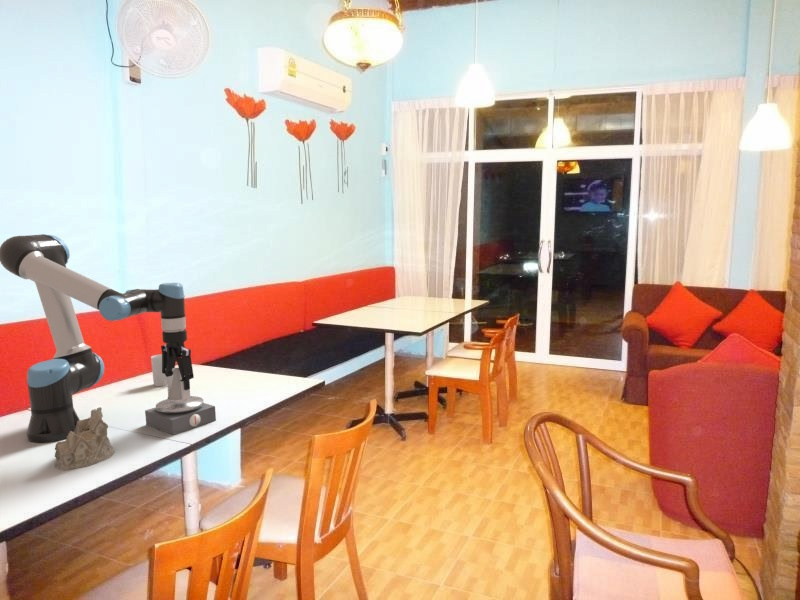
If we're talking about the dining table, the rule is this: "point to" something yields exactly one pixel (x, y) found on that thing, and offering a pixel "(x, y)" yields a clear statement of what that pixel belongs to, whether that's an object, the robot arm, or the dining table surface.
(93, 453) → the ceramic cottage
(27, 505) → the dining table surface
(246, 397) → the dining table surface
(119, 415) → the dining table surface
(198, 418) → the base
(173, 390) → the flask
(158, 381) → the mug
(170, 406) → the scale pan
